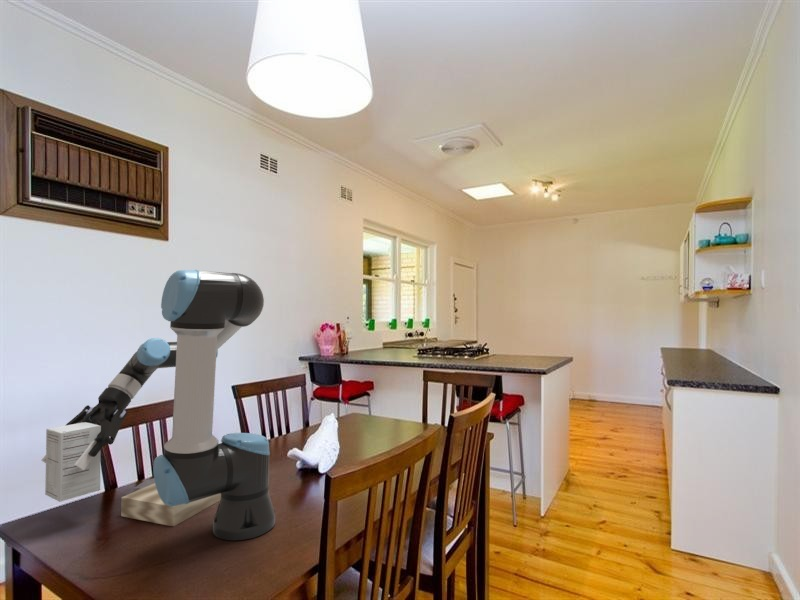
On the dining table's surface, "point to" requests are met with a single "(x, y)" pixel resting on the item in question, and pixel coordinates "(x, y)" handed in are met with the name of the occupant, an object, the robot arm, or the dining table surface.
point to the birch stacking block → (161, 507)
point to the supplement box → (71, 461)
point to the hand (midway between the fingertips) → (62, 465)
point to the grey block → (141, 486)
